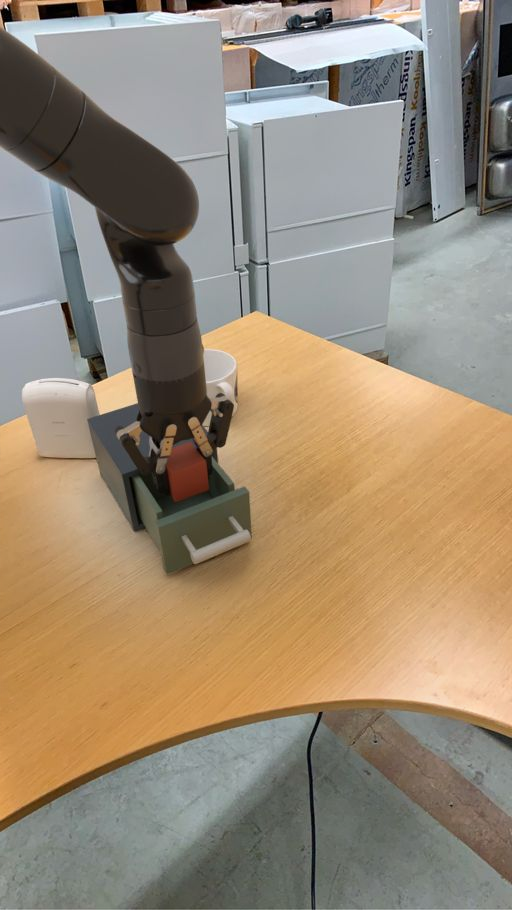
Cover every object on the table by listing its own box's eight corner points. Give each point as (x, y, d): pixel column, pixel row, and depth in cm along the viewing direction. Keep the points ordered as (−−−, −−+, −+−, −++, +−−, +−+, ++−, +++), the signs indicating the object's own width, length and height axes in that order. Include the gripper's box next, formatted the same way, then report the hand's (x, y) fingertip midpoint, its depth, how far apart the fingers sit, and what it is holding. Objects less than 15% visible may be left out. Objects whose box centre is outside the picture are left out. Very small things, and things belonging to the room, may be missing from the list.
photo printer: (35, 459, 96) (13, 388, 89) (45, 441, 100) (24, 371, 92) (103, 461, 95) (86, 389, 88) (111, 443, 99) (95, 373, 91)
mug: (163, 405, 106) (156, 362, 101) (218, 384, 111) (215, 342, 106) (204, 445, 98) (199, 400, 93) (262, 421, 102) (261, 377, 97)
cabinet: (221, 497, 88) (216, 441, 82) (133, 532, 84) (121, 474, 78) (180, 445, 98) (173, 391, 92) (100, 473, 93) (86, 418, 87)
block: (175, 502, 76) (170, 474, 73) (160, 481, 79) (156, 453, 77) (209, 489, 78) (206, 461, 75) (193, 469, 81) (190, 441, 78)
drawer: (269, 560, 78) (267, 512, 73) (181, 599, 74) (173, 551, 69) (208, 482, 89) (203, 437, 85) (129, 512, 85) (119, 466, 81)
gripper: (213, 327, 73) (223, 448, 84) (89, 362, 68) (117, 487, 78) (245, 356, 68) (251, 481, 78) (114, 396, 63) (140, 524, 73)
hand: (184, 483), depth 78 cm, fingers closed on block, 4 cm apart
